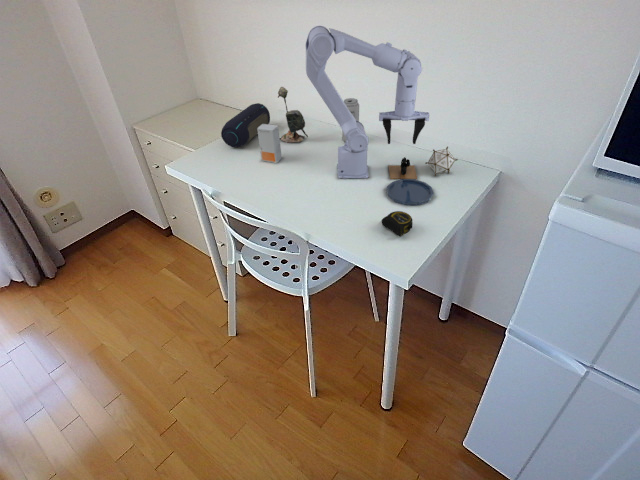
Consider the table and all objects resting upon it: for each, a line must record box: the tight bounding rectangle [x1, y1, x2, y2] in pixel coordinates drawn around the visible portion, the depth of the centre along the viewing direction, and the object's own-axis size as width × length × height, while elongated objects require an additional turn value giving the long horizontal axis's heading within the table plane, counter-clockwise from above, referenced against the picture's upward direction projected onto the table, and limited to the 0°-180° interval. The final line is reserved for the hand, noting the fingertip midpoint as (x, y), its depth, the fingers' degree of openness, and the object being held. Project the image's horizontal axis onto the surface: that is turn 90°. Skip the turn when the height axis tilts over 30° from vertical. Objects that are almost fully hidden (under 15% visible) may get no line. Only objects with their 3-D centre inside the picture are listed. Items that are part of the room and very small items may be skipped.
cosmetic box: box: [257, 123, 282, 164], centre depth 135 cm, size 6×4×12 cm
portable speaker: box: [220, 102, 271, 148], centre depth 152 cm, size 25×10×10 cm, turn 159°
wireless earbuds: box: [400, 156, 411, 175], centre depth 126 cm, size 7×2×5 cm, turn 175°
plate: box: [386, 179, 434, 207], centre depth 118 cm, size 13×13×1 cm
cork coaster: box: [388, 164, 418, 180], centre depth 128 cm, size 8×8×1 cm
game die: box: [424, 146, 459, 177], centre depth 125 cm, size 9×8×10 cm
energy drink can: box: [341, 97, 360, 144], centre depth 144 cm, size 6×6×15 cm
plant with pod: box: [277, 86, 309, 143], centre depth 145 cm, size 8×11×20 cm
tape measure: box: [381, 210, 413, 238], centre depth 104 cm, size 7×7×4 cm
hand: (401, 142), depth 124 cm, fingers open, 7 cm apart
